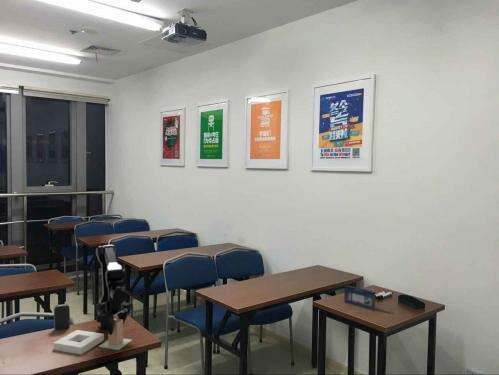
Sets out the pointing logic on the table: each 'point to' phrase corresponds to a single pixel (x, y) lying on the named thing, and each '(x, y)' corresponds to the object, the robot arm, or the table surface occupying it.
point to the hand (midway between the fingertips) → (115, 331)
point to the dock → (73, 346)
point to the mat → (116, 347)
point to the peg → (116, 333)
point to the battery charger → (61, 316)
